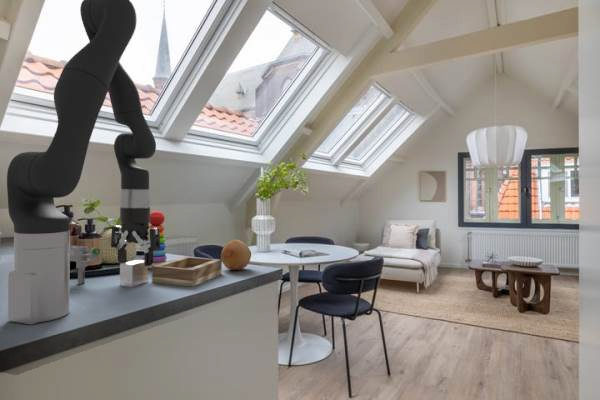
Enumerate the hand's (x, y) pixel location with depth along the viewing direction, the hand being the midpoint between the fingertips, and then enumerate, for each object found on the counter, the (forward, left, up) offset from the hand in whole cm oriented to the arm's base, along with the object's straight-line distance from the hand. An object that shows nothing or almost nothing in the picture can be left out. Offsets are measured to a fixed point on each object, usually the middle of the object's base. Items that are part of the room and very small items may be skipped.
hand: (135, 264), depth 100 cm
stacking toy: (+20, +9, -6) cm, 22 cm away
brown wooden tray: (+11, -10, -5) cm, 15 cm away
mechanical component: (-5, +13, -5) cm, 15 cm away
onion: (+26, -18, -6) cm, 32 cm away
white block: (0, 0, -5) cm, 5 cm away
